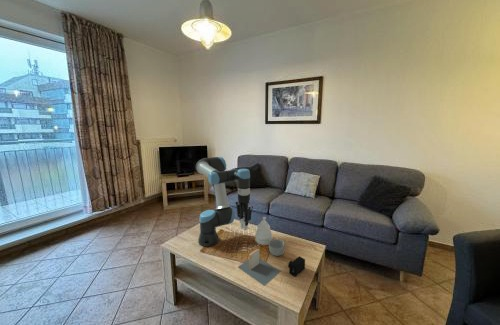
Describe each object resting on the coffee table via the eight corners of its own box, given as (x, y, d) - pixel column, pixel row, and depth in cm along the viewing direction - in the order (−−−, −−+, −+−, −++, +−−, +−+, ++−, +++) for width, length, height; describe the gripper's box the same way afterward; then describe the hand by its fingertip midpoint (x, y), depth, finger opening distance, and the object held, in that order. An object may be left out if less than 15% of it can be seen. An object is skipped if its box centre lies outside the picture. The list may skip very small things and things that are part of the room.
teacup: (283, 259, 138) (284, 248, 137) (267, 257, 140) (267, 246, 139) (284, 247, 152) (285, 237, 150) (269, 245, 154) (270, 235, 152)
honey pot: (256, 235, 168) (257, 214, 165) (272, 236, 165) (273, 215, 162) (253, 244, 156) (254, 221, 152) (271, 246, 153) (271, 223, 150)
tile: (249, 268, 129) (249, 254, 127) (257, 262, 134) (257, 248, 133) (251, 270, 128) (251, 255, 126) (259, 263, 133) (259, 249, 131)
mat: (237, 267, 130) (237, 267, 130) (254, 256, 142) (254, 255, 141) (264, 286, 115) (264, 285, 115) (281, 271, 127) (281, 271, 127)
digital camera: (297, 264, 133) (297, 255, 132) (304, 269, 129) (305, 259, 128) (287, 272, 126) (287, 262, 125) (295, 277, 122) (295, 267, 121)
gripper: (231, 192, 131) (231, 227, 135) (248, 198, 121) (248, 235, 125) (239, 189, 136) (240, 223, 141) (257, 195, 126) (256, 231, 130)
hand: (244, 228), depth 133 cm, fingers open, 2 cm apart
